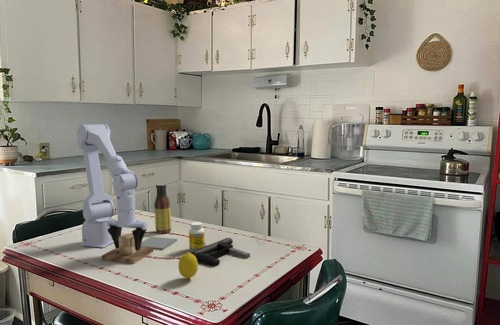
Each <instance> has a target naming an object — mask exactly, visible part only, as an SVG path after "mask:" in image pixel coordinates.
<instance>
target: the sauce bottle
mask: <svg viewBox="0 0 500 325" xmlns="http://www.w3.org/2000/svg"><path fill="white" fill-rule="evenodd" d="M155 189H156V198H155V201H154V219H155V220H154V223H155V232H156V233H157V234H161V235H162V234H168V233H169V234H170V232H172V213H171V201H170V198H169V197H168V195H167V183H164V182H162V183H157V184H155Z"/></svg>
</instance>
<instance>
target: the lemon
mask: <svg viewBox="0 0 500 325" xmlns="http://www.w3.org/2000/svg"><path fill="white" fill-rule="evenodd" d="M198 262H199V261H197V259H196V257H195V256H194V255H193V254H191V252H186V253H184V254H183V255H181V256H180V258H179V260H178V271H179V274H180V275H181V276H182V277H183V278H186V279H187V280H190V279H191V278H193V277H194V276H196V274H197V272H198V268H199V263H198Z"/></svg>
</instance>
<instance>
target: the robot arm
mask: <svg viewBox="0 0 500 325" xmlns="http://www.w3.org/2000/svg"><path fill="white" fill-rule="evenodd" d="M76 137H77V144H78V147H79V149H81V150H82V154H83V162H84V167H85V173H86V181H87V186H88V187H87V188H88V193H89V195H88V196H86V198H84V200H83V201H82V215H83V218H84V222H83V223H82V226H81V236H82V237H81V238H82V241H81V242H82V243H81V244H80V246H84V247H92V248H94V247H95V248H101V249H102V248H105V247H107V246H109V245H112V244H113V243H114V247H115V248H119V237H120V236H122V230H123V228H126V229H133V230H131V234H133V236H134V242H135V250H139V249H140V247H141V242H143V239H144V236H145V233H146V232H147V229H148V222H145V221H140V220H137V219H136V217H137V216H136V198H135V197H136V194H135V193H136V192H135V190H136V189H137V187H138V186H139V185H138V184H139V182H138V181H139V180H138V176H137V174H136V173H135V172H134V171H132V170H131V169H129V168H128V167H127V164H126V163H125V161H124V160H123V157H122V156H120V155H118V154H117V153H116V151H115V148H114V146H113V144H112V142H111V130H110V127H109V126H108V124H106V123H102V124H100V123H99V124H96V123H95V124H84V123H83V124H82V123H81V124H79V126H78V127H77V130H76ZM99 150H100V152H101V153H102V155H103V156H104V158H105V160H106V161H105V167H106V168H107V169H108V172H109V174H110V175H111V178H112V179H113V180H112V186H113V187H112V188H113V190H114V195H115V196H114V197H116V208H115V204H114V203H113V200H112V196H111V195H109V194H107V193H105V188H104V183H103V176H102V170H101V163H100V157H99ZM115 210H117V219H112V218H113V216H114V215H115V212H116V211H115ZM115 248H114V249H115Z"/></svg>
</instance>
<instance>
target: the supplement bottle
mask: <svg viewBox="0 0 500 325" xmlns="http://www.w3.org/2000/svg"><path fill="white" fill-rule="evenodd" d="M188 242H189V243H188V244H189V245H188V246H189V251H190V252H192V251H194V250H197V249H200V248H202V247H205V246H206V244H205V243H206V242H205V229H204V228H203V223H202V222H200V221H195V222H191V223H190V229H189V230H188Z"/></svg>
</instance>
